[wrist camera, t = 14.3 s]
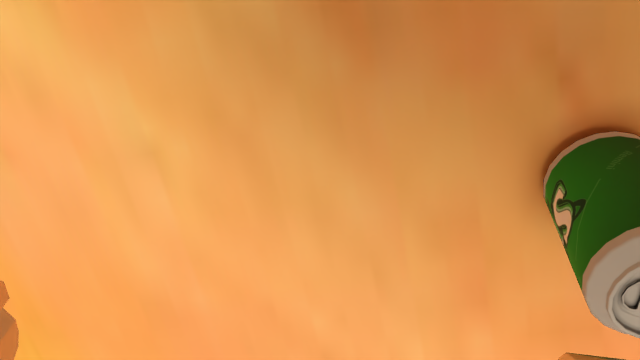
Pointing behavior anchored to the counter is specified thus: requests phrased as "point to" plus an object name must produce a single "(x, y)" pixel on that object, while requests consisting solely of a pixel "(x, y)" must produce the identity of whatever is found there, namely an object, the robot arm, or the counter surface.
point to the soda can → (601, 222)
